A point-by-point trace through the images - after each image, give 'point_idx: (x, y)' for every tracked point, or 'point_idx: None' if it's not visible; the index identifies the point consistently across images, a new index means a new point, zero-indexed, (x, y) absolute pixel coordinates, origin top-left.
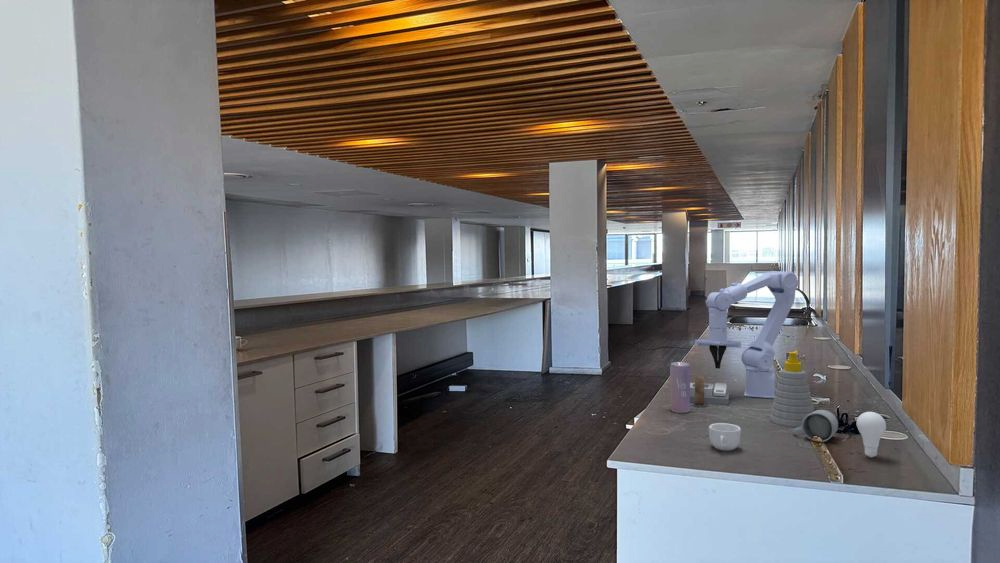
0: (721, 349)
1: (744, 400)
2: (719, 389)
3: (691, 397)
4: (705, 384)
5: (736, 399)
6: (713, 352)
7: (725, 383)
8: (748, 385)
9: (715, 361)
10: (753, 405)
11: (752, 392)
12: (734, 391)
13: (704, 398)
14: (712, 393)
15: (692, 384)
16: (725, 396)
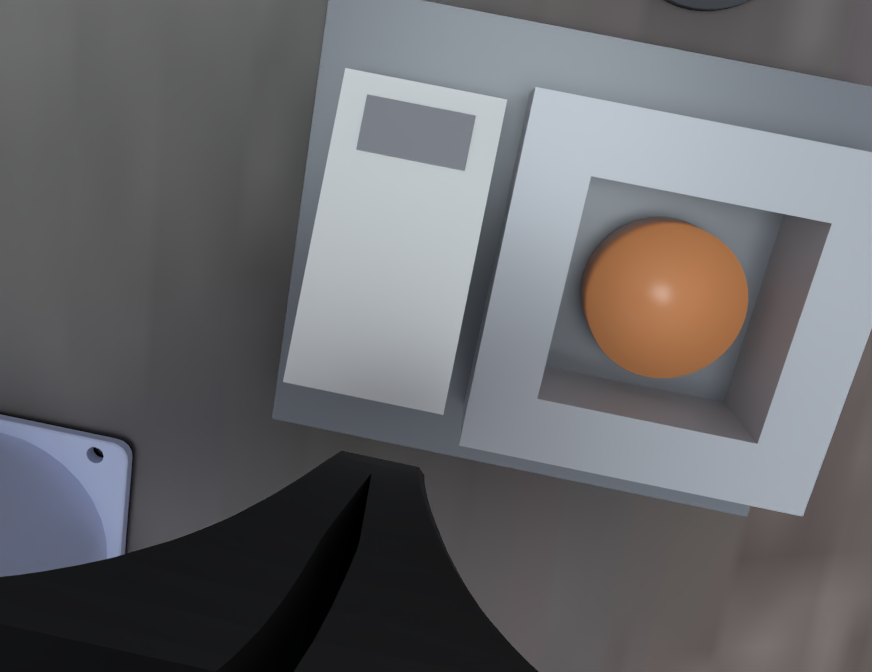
0: (26, 638)
1: (143, 274)
2: (412, 190)
3: (816, 78)
4: (586, 410)
5: (226, 313)
6: (453, 669)
7: (298, 382)
8: (21, 538)
9: (408, 525)
10: (56, 28)
11: (24, 464)
12: None
13: (640, 44)
14: (517, 156)
15: (787, 389)
16: None
